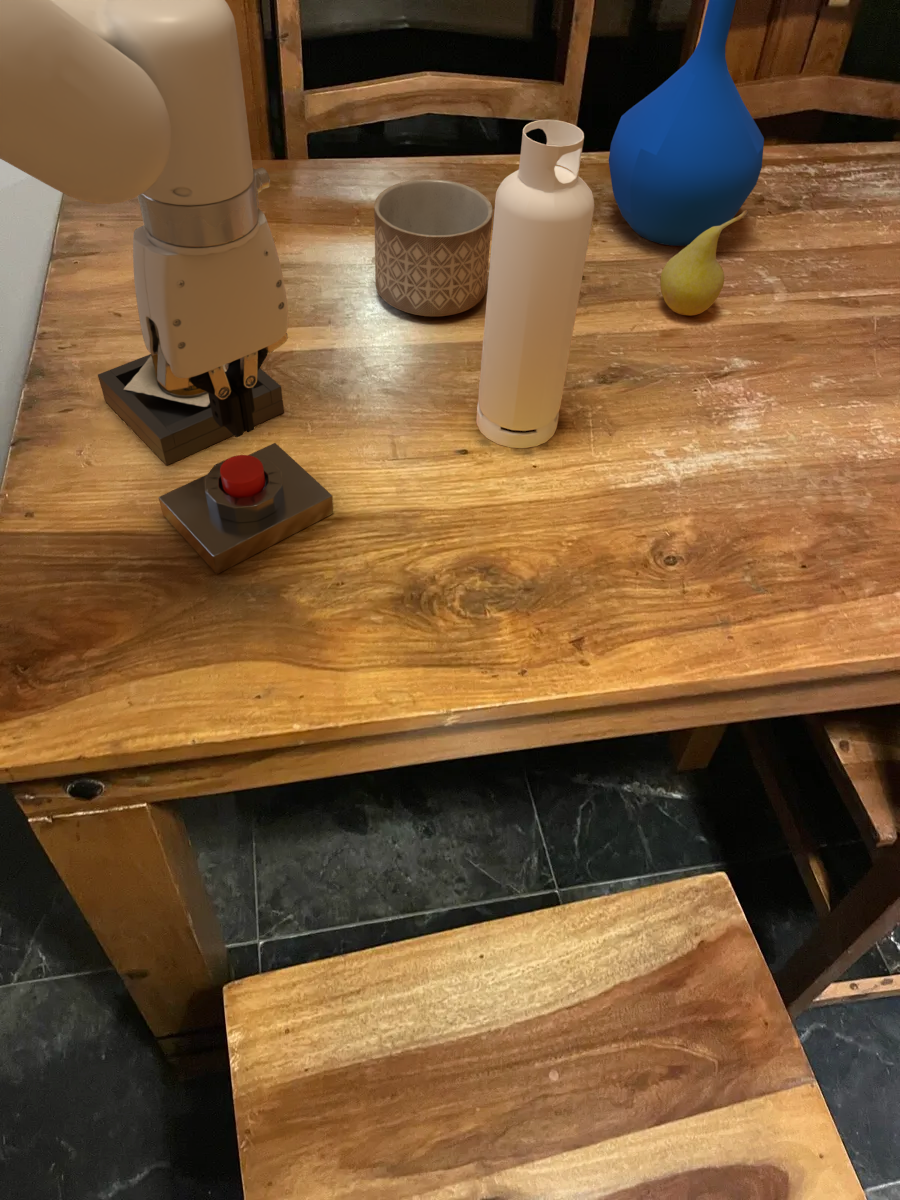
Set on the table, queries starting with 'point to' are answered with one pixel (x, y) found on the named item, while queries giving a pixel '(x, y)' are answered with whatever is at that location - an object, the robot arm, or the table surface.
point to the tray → (178, 413)
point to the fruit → (695, 274)
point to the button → (242, 476)
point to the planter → (432, 246)
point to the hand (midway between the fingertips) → (235, 424)
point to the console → (246, 510)
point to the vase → (688, 146)
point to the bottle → (534, 287)
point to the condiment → (149, 385)
